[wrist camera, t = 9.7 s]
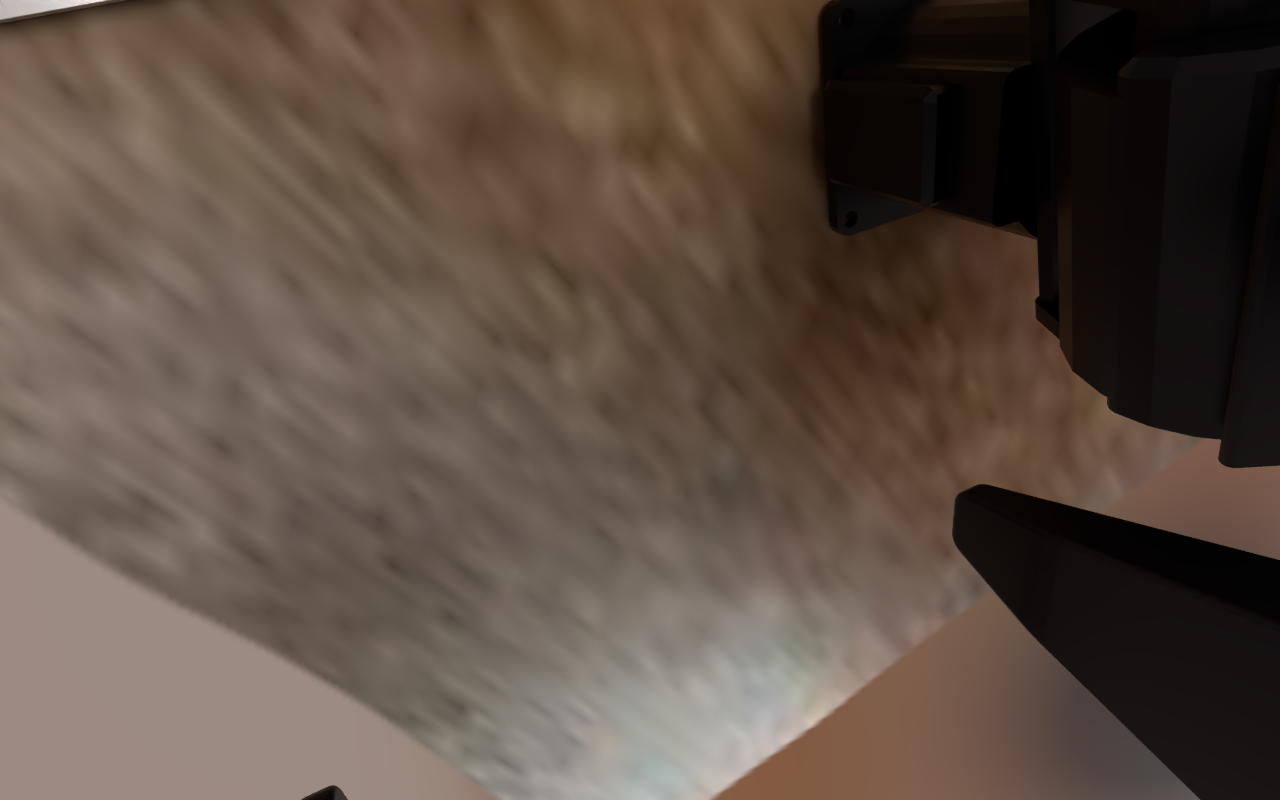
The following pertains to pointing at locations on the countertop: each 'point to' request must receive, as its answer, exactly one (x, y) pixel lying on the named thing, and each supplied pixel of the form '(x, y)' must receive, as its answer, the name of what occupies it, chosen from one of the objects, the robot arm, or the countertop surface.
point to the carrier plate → (43, 7)
